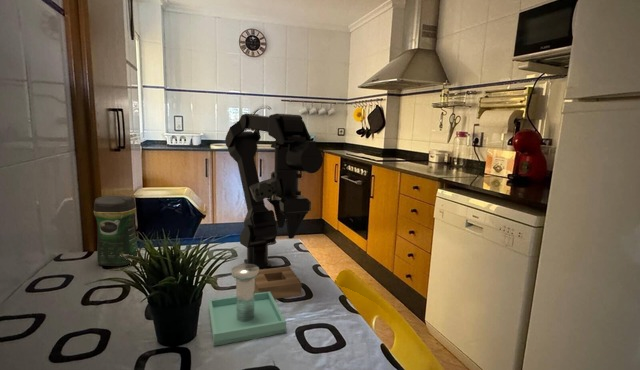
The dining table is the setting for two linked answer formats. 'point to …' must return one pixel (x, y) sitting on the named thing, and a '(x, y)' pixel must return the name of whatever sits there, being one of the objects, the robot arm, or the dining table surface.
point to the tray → (260, 326)
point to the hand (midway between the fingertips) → (285, 232)
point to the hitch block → (278, 282)
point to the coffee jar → (115, 229)
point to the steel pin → (245, 290)
